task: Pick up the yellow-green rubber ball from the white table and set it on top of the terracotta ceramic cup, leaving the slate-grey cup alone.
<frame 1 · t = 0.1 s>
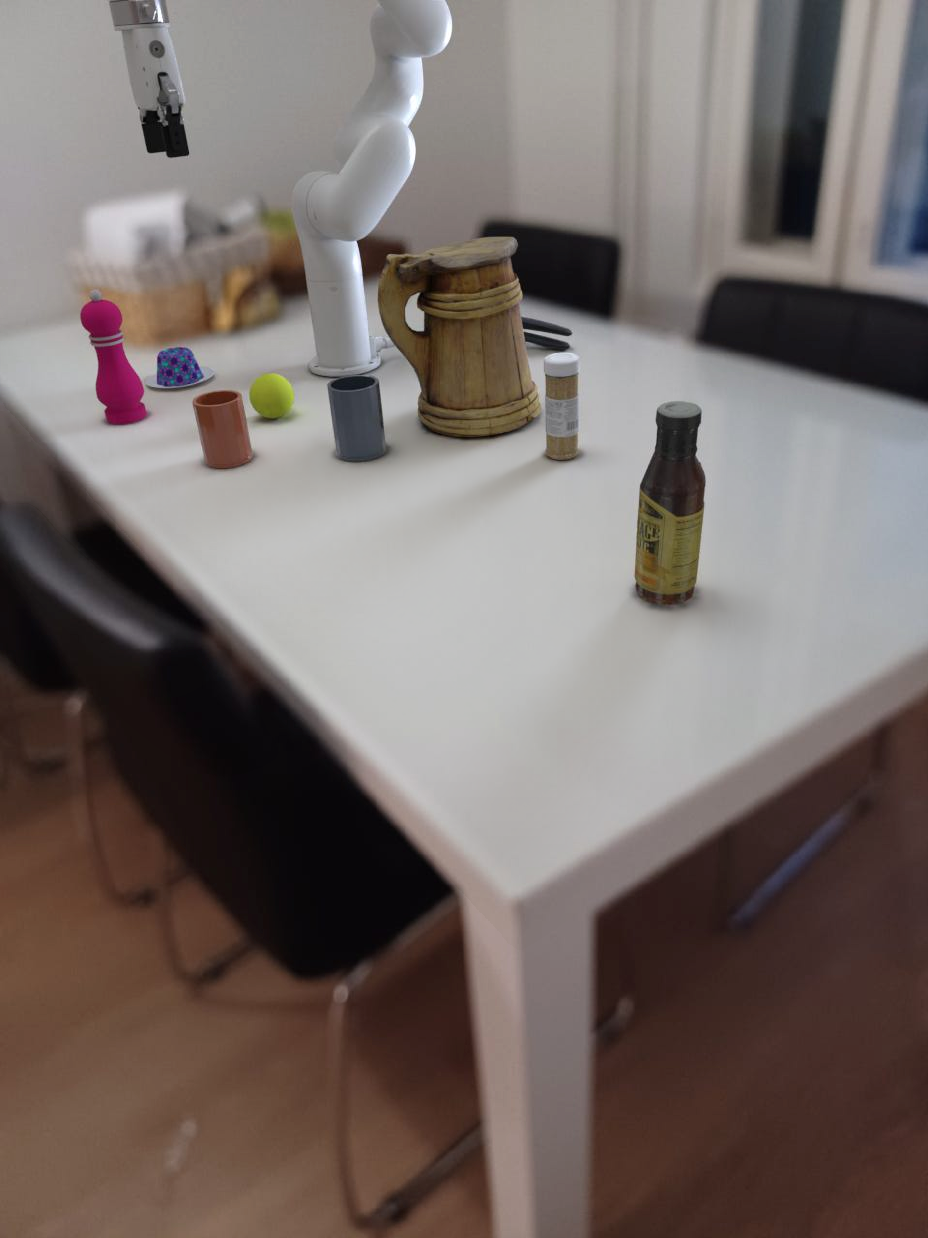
hand: (168, 154, 140), 37 cm above the table, tool pointing down, fingers open, 9 cm apart
tankard: (465, 421, 143), on the table
pepper mill: (127, 419, 153), on the table
terracotta cup: (229, 459, 136), on the table
pudding: (180, 381, 168), on the table
sprinkles bottle: (562, 455, 130), on the table
grey cup: (361, 451, 135), on the table
ball: (271, 395, 148), point 3 cm above the table
sauce bottle: (665, 595, 98), on the table
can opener: (527, 346, 174), on the table
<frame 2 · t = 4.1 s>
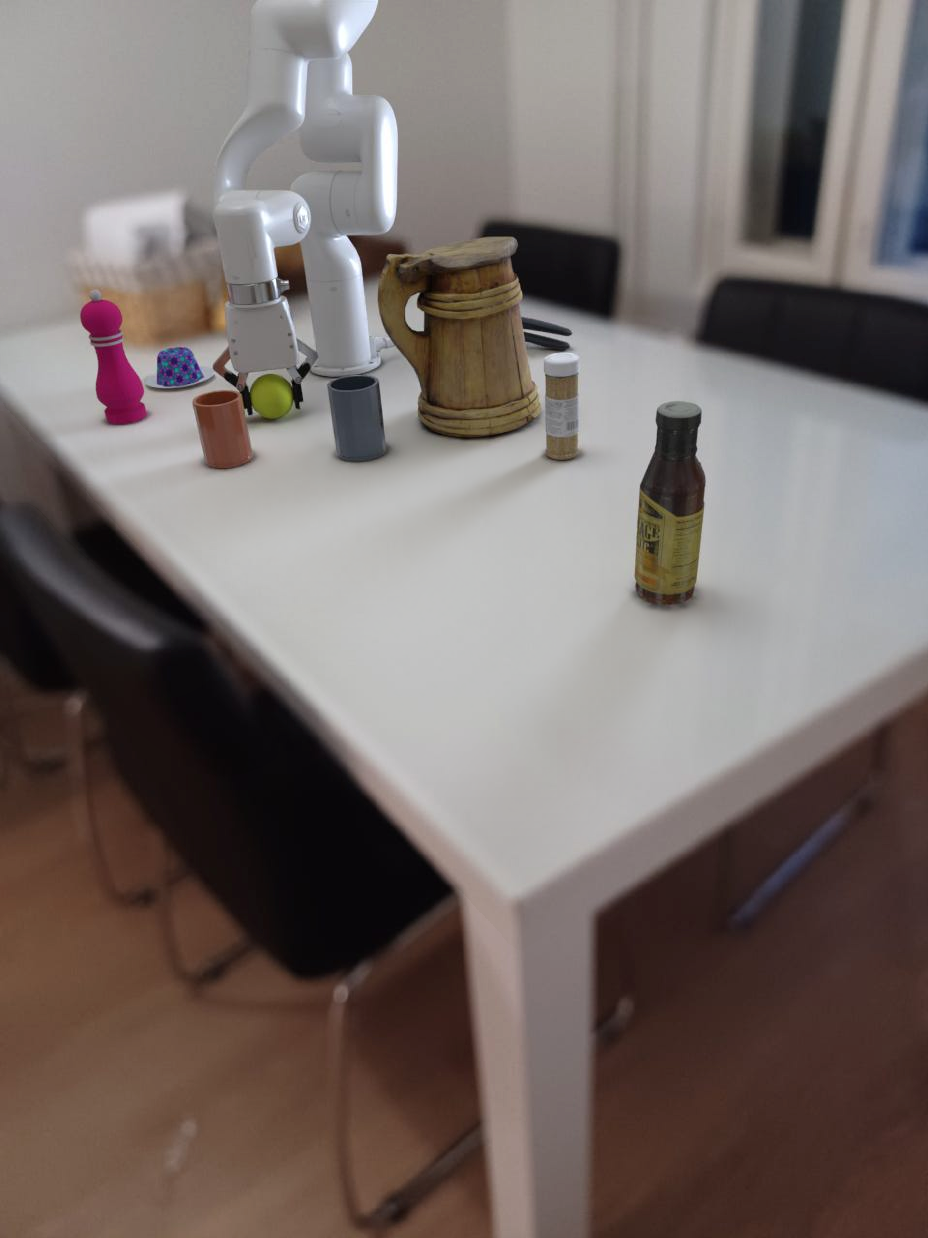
hand: (273, 408, 149), 1 cm above the table, tool pointing down, fingers closed on ball, 6 cm apart
ball: (271, 396, 148), point 3 cm above the table, touching gripper
everything else where it was.
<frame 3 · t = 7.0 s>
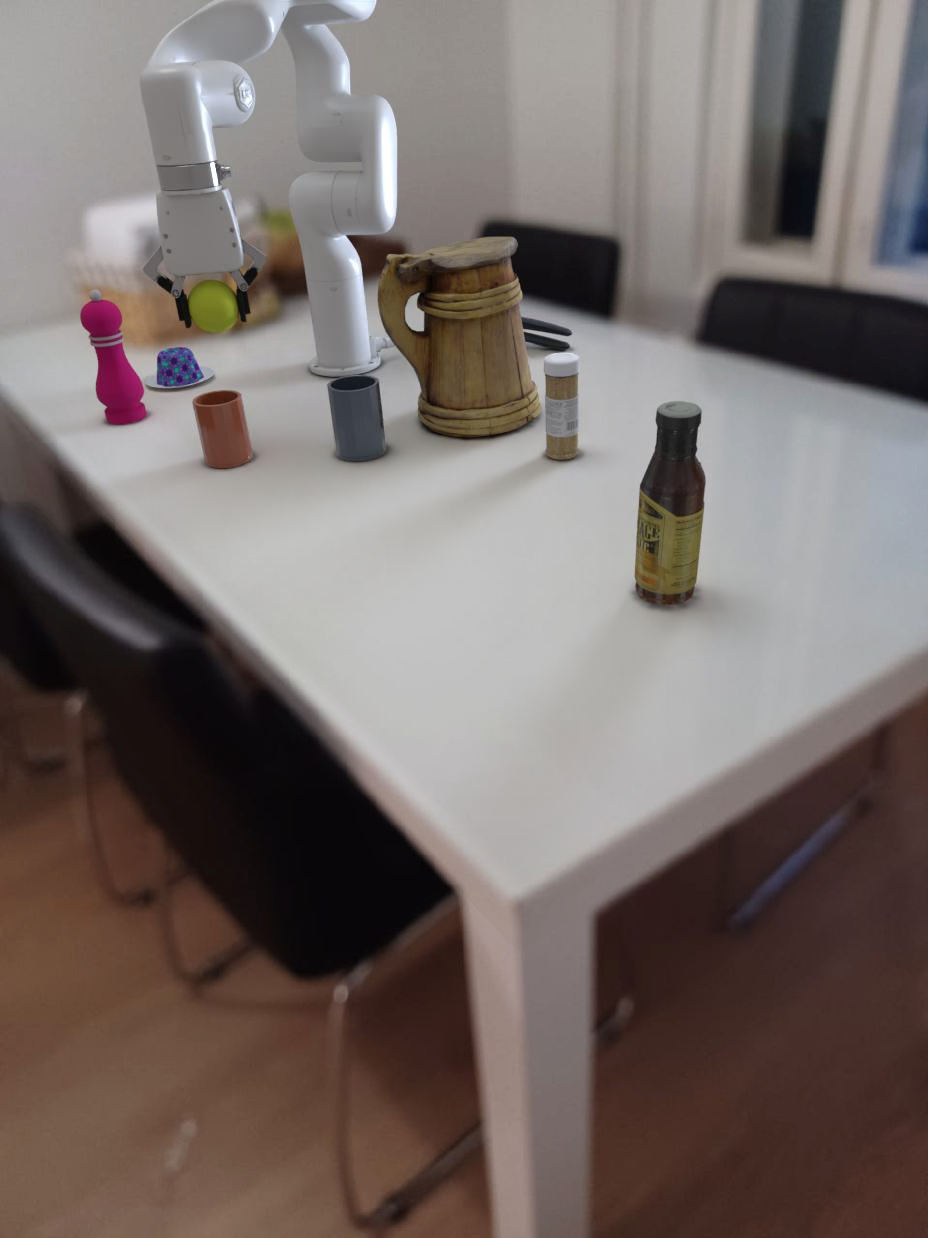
hand: (216, 321, 129), 18 cm above the table, tool pointing down, fingers closed on ball, 6 cm apart
ball: (213, 306, 128), point 20 cm above the table, touching gripper
everything else where it was.
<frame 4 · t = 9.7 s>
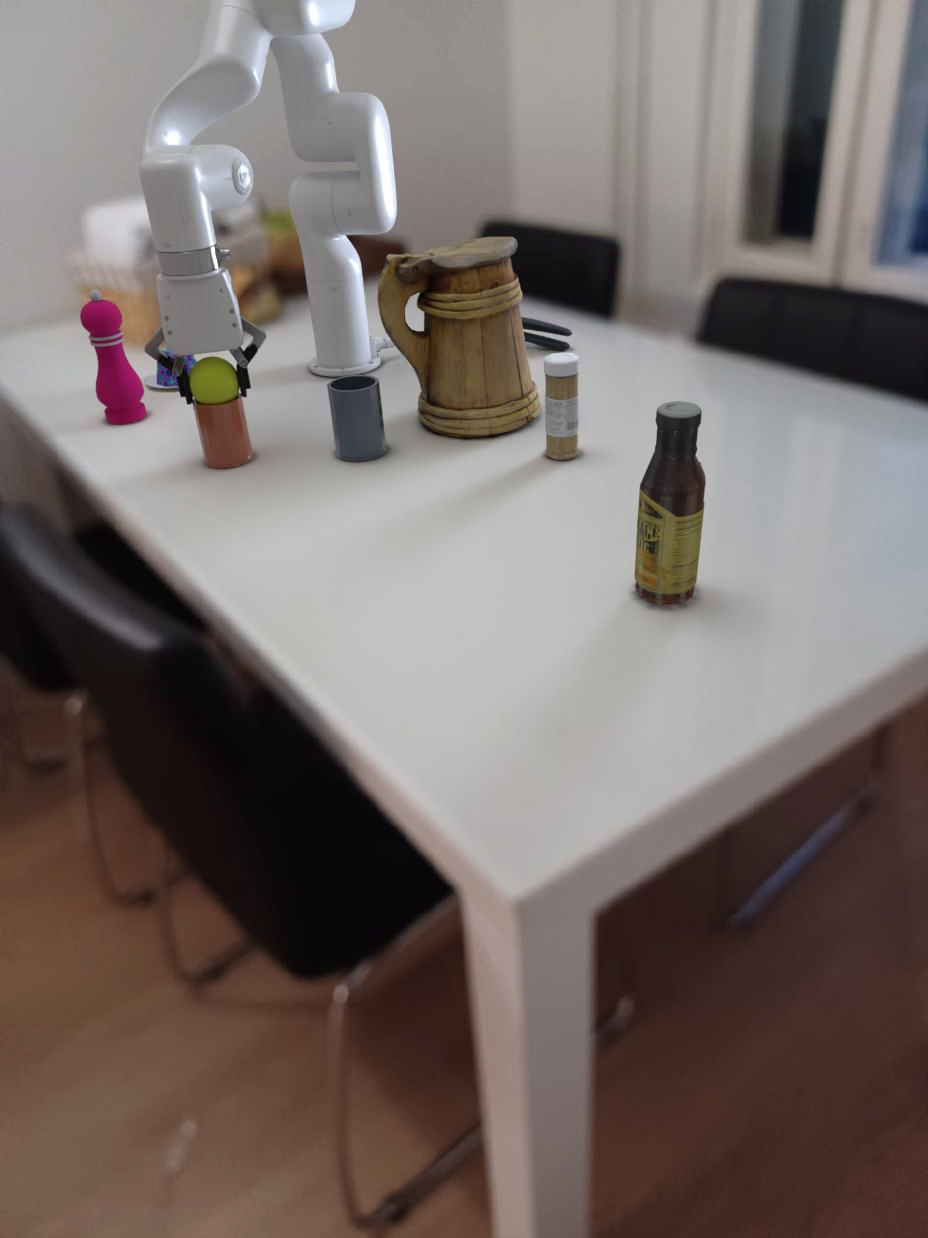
hand: (217, 396, 131), 9 cm above the table, tool pointing down, fingers closed on ball, 6 cm apart
ball: (214, 382, 130), point 11 cm above the table, touching gripper
everything else where it was.
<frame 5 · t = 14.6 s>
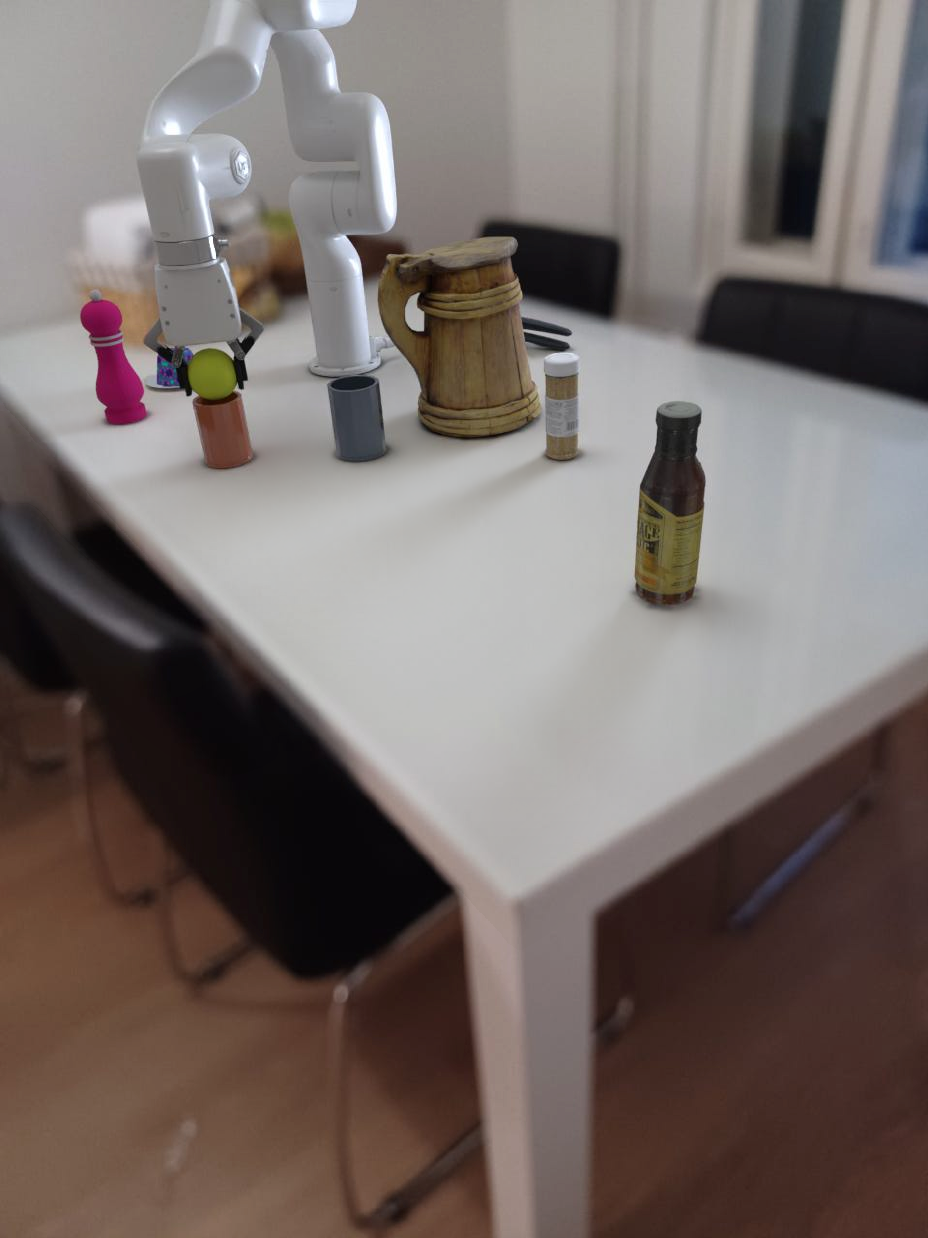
hand: (215, 388, 130), 10 cm above the table, tool pointing down, fingers closed on ball, 6 cm apart
ball: (212, 374, 129), point 12 cm above the table, touching gripper
everything else where it was.
when the fingers open (10 cm above the table, at t = 19.1 s): ball drops 1 cm, resting on terracotta cup.
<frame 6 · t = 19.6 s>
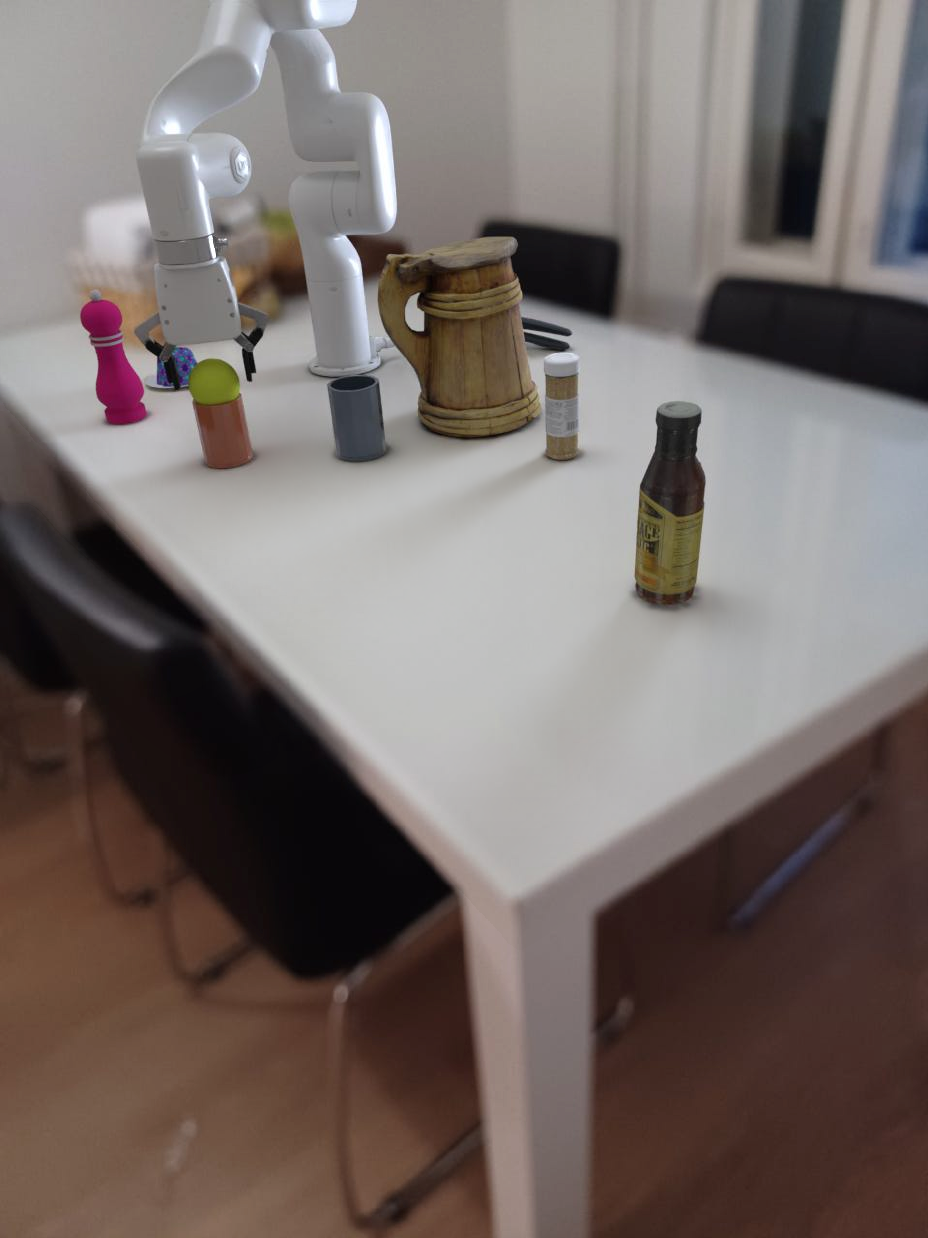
hand: (214, 383, 130), 11 cm above the table, tool pointing down, fingers open, 9 cm apart
terracotta cup: (229, 459, 136), on the table, touching ball
ball: (214, 384, 130), point 11 cm above the table, touching terracotta cup
everything else where it was.
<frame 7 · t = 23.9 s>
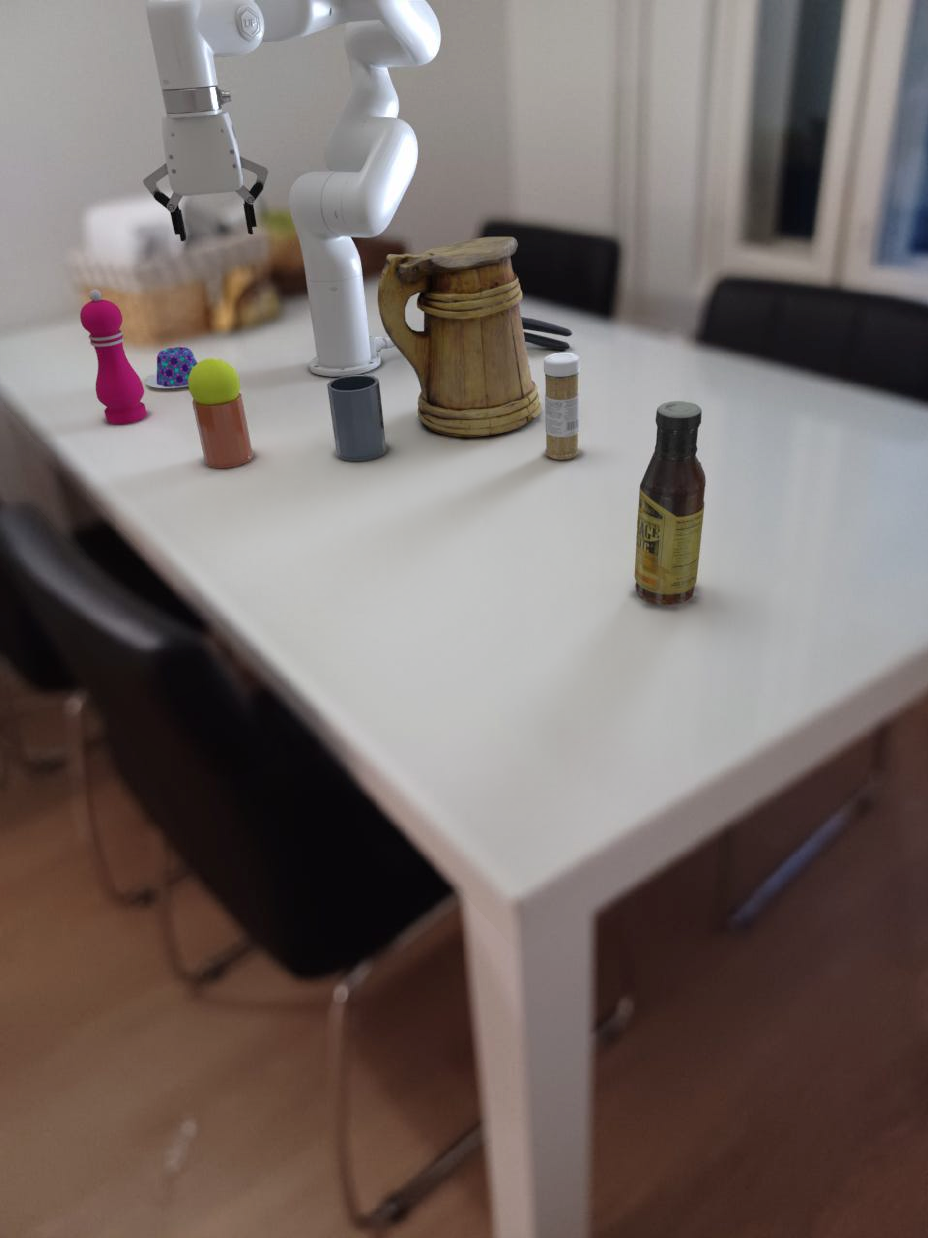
hand: (217, 236, 139), 26 cm above the table, tool pointing down, fingers open, 9 cm apart
nothing on the table moved.
at the end: ball 0.0 cm off-centre on the terracotta cup, point 10.9 cm above the terracotta cup's base; terracotta cup tilted 0°; the gripper is holding nothing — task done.
